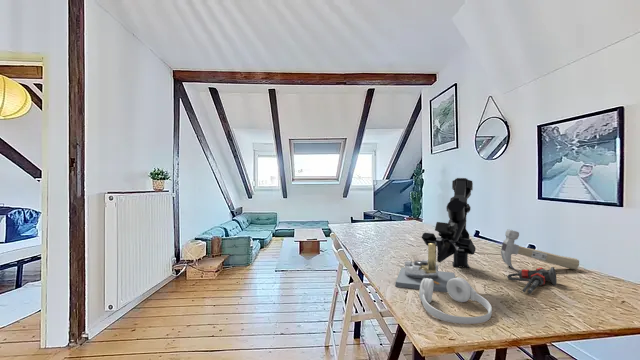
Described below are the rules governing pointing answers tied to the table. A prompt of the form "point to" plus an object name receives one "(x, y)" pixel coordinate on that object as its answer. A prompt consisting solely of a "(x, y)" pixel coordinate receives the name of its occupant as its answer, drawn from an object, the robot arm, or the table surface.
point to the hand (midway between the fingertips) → (438, 261)
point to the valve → (535, 278)
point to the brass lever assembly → (423, 265)
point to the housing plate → (415, 283)
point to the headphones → (458, 292)
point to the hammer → (533, 253)
